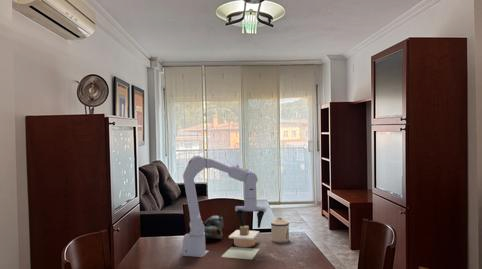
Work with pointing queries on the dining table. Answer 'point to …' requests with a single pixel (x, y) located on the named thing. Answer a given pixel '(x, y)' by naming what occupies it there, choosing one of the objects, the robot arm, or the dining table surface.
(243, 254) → the mat
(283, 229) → the teacup with lid
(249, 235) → the cover plate
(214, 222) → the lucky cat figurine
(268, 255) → the dining table surface
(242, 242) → the bowl
